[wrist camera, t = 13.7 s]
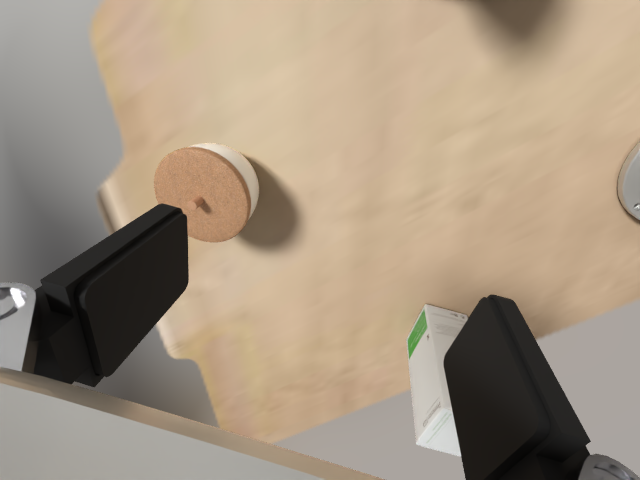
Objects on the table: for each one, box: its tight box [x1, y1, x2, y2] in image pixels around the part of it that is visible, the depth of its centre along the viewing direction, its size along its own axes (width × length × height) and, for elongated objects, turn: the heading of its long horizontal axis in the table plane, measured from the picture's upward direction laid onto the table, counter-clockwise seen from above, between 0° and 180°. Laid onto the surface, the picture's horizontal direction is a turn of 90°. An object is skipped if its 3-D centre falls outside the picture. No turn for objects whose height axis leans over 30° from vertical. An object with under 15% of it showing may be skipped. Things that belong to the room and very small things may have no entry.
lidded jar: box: [154, 143, 259, 242], centre depth 36 cm, size 11×11×9 cm
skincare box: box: [406, 304, 468, 457], centre depth 40 cm, size 8×7×16 cm
